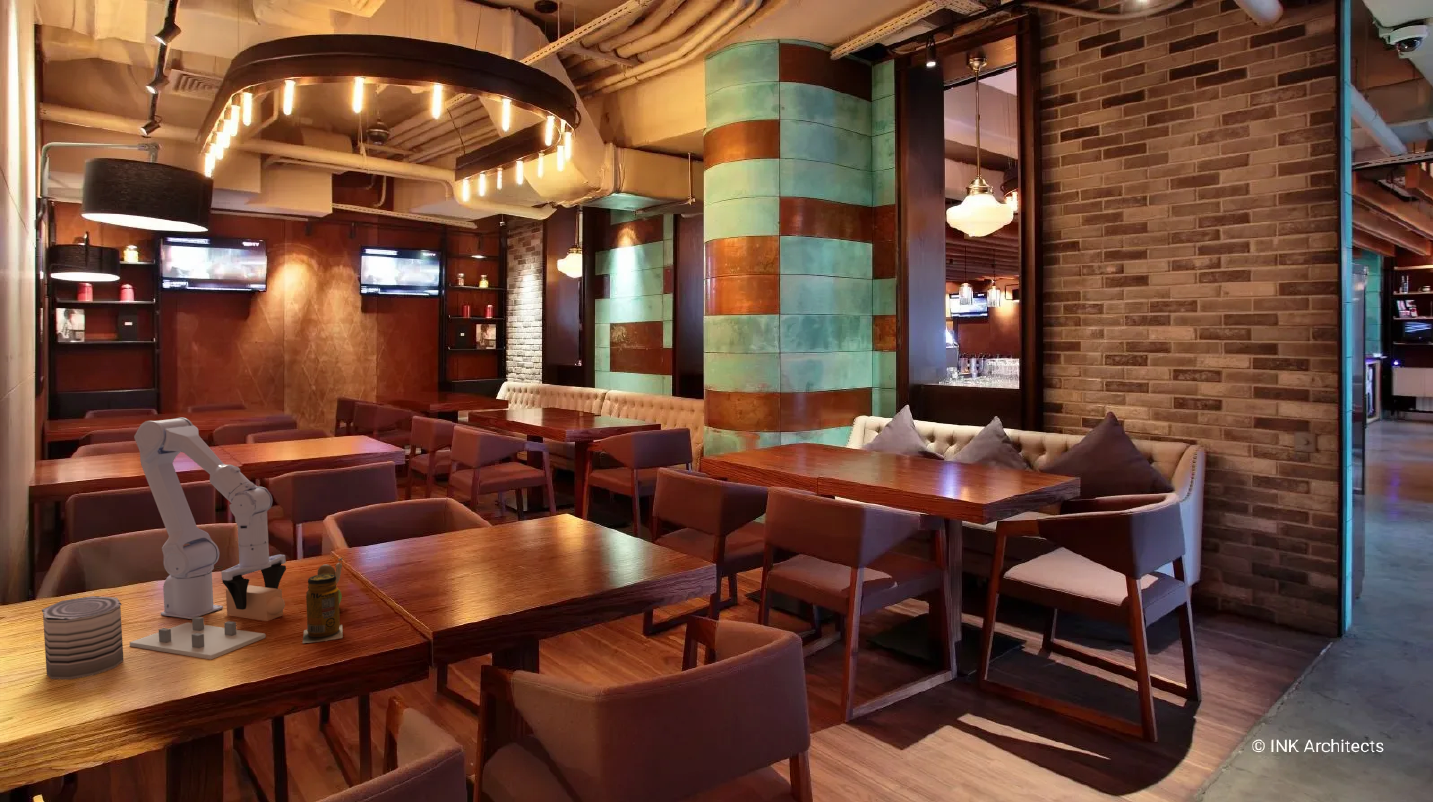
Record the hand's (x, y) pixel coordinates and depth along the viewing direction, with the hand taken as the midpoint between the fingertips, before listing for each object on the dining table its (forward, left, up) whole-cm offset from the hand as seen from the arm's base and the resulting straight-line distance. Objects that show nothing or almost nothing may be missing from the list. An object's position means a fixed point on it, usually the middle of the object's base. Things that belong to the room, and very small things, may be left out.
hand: (256, 603), depth 175 cm
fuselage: (0, 0, -3) cm, 3 cm away
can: (-5, -32, -3) cm, 33 cm away
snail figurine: (+13, +8, -3) cm, 15 cm away
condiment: (+24, -5, -3) cm, 25 cm away
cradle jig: (+3, -16, -3) cm, 16 cm away
